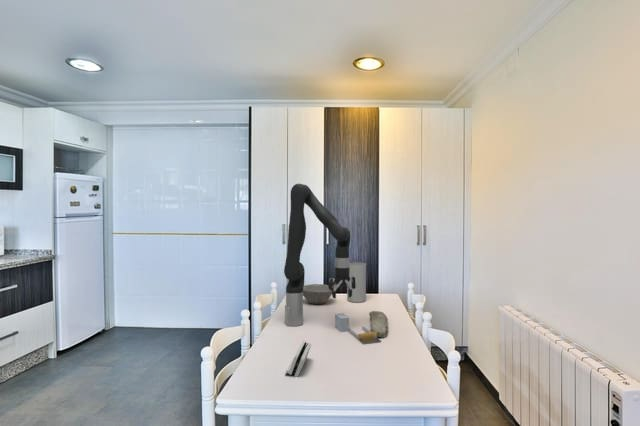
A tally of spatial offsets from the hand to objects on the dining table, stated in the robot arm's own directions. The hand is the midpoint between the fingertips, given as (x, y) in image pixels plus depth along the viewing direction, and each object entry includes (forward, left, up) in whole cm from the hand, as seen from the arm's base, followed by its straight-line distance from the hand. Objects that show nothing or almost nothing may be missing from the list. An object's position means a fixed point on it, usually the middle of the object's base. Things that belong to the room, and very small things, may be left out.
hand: (342, 297), depth 177 cm
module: (0, 0, -16) cm, 16 cm away
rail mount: (+6, -13, -16) cm, 22 cm away
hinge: (-32, -34, -16) cm, 50 cm away
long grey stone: (+20, -3, -16) cm, 26 cm away
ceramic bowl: (+4, +52, -16) cm, 54 cm away
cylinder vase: (+31, +49, -16) cm, 60 cm away
